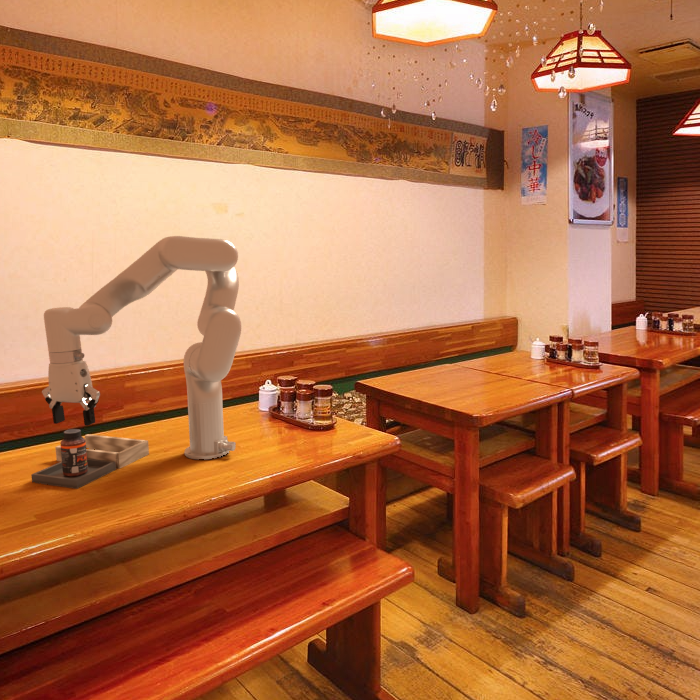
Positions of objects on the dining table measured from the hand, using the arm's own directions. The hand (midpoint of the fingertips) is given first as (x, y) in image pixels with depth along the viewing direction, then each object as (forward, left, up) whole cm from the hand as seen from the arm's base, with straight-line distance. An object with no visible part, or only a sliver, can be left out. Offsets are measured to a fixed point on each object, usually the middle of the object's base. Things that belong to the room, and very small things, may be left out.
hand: (74, 423), depth 157 cm
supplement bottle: (0, +1, -13) cm, 13 cm away
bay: (+4, -13, -14) cm, 20 cm away
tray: (+1, +1, -14) cm, 14 cm away
